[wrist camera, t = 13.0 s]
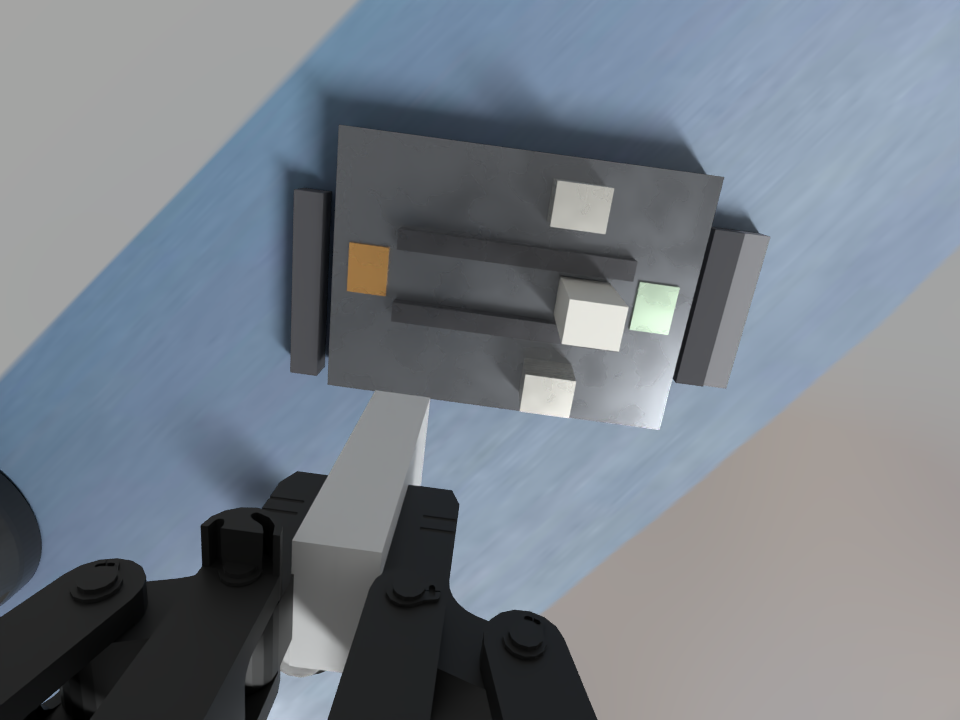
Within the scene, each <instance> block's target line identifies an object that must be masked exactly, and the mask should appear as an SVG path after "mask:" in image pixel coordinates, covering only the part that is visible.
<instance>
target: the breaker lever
mask: <svg viewBox="0 0 960 720" xmlns="http://www.w3.org/2000/svg"><path fill="white" fill-rule="evenodd" d="M628 308H629V307H628V306H627V305H626V303H625V302H624V301H623V299H622V298H621V297H620V295H619V294H618V293H617V292H616V290H615V289H614V288H613V286H612V285H611V284H610V283H608V282H601V281H593V280H586V279H579V278H571V277H564V276H560V280H559V286H558V292H557V297H556V303H555V309H554V318H555V321H556V325H557V329H558V332H559V336H560V340H561V343H562V344H566V345H573V346H580V347H588V348H595V349H602V350H610V351H617V352H619V349H620V344H621V340H622V335H623V331H624V326H625V321H626V317H627V312H628Z"/></svg>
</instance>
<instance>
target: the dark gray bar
mask: <svg viewBox="0 0 960 720" xmlns="http://www.w3.org/2000/svg"><path fill="white" fill-rule="evenodd" d="M331 198H332V192H331V191H324V190H316V189H309V188H299V189H294V214H293V264H292V313H291V363H290V372H293V373H300V374H307V375H314V376H317V375H318V374H319V373H320V371H321V370H322V369H323V368H324V367H325V344H326V320H327V295H328V271H329V246H330V222H331Z"/></svg>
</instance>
